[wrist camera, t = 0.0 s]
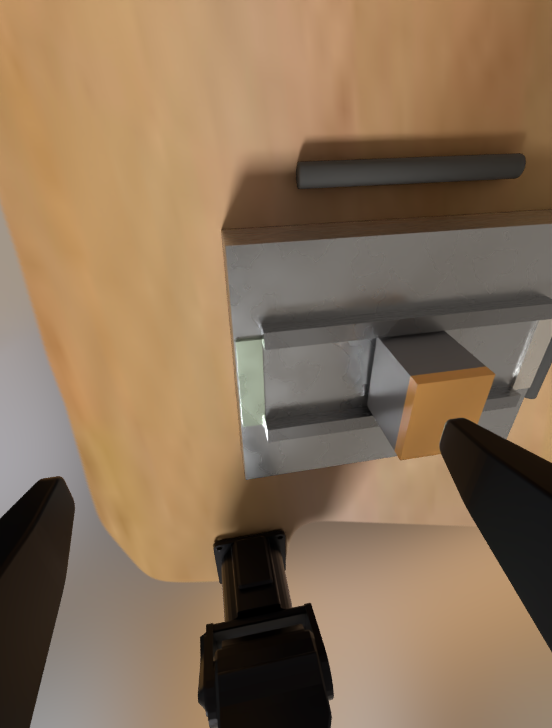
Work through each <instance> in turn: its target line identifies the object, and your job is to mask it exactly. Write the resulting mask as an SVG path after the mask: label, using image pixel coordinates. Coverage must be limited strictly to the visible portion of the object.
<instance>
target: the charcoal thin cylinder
mask: <svg viewBox="0 0 552 728" xmlns="http://www.w3.org/2000/svg"><path fill="white" fill-rule="evenodd" d="M525 164H526V159H525V156H524V155H523V154H521V153H517V154H491V155H464V156H438V157H412V158H386V159H359V160H333V161H307V162H298V163H297V168H296V182H297V187H298V189H309V188H329V187H350V186H371V185H391V184H412V183H432V182H453V181H474V180H494V179H515V178H518V177H519V176H520V175H521V174H522V173H523V171H524V168H525Z"/></svg>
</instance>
